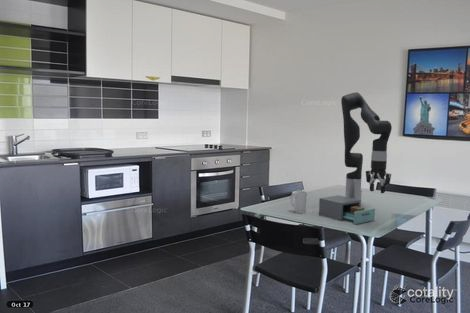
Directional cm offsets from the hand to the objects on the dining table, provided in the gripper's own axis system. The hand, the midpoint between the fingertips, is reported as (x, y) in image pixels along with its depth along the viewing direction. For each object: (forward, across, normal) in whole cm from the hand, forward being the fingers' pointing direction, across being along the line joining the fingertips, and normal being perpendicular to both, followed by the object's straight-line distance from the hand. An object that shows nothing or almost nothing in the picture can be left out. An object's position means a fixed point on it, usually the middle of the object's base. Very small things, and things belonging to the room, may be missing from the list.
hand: (377, 191), depth 219 cm
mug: (+18, +44, +13) cm, 49 cm away
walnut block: (+16, +12, 0) cm, 19 cm away
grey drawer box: (+18, +24, 0) cm, 30 cm away
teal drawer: (+17, +14, 0) cm, 22 cm away
